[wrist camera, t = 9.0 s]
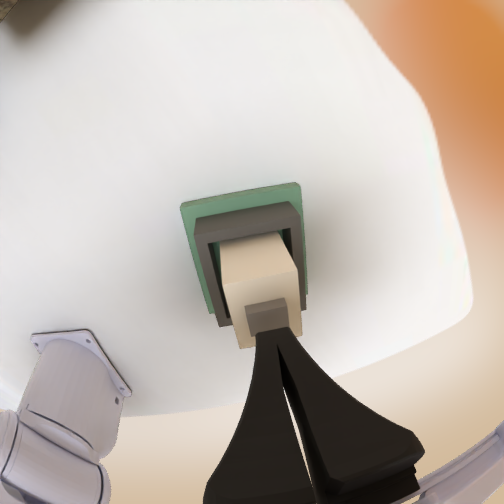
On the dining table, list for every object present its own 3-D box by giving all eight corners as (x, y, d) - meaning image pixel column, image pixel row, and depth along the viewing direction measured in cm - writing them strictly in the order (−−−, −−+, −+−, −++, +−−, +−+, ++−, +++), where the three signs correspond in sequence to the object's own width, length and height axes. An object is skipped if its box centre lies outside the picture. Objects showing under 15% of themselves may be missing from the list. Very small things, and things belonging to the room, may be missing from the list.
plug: (278, 273, 19) (305, 343, 13) (231, 283, 19) (241, 357, 13) (270, 218, 17) (301, 277, 11) (218, 229, 17) (223, 293, 11)
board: (303, 286, 21) (318, 316, 18) (209, 305, 21) (209, 338, 18) (295, 182, 17) (313, 198, 14) (181, 203, 17) (174, 224, 14)
